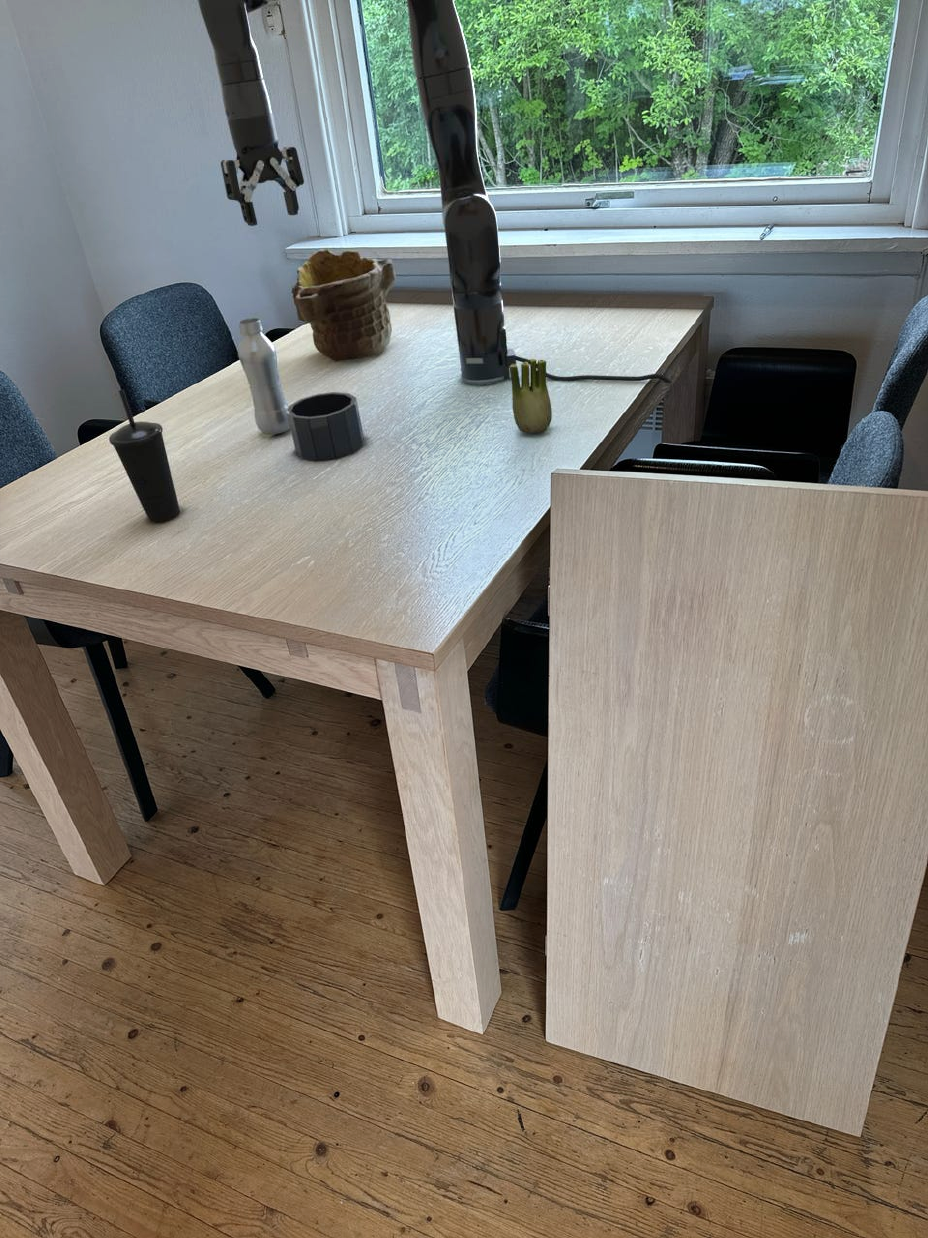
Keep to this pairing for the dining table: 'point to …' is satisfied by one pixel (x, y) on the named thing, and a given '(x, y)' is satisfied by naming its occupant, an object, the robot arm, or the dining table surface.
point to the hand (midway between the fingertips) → (273, 219)
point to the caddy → (325, 426)
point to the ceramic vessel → (345, 303)
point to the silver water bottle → (263, 377)
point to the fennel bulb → (531, 397)
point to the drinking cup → (147, 466)
